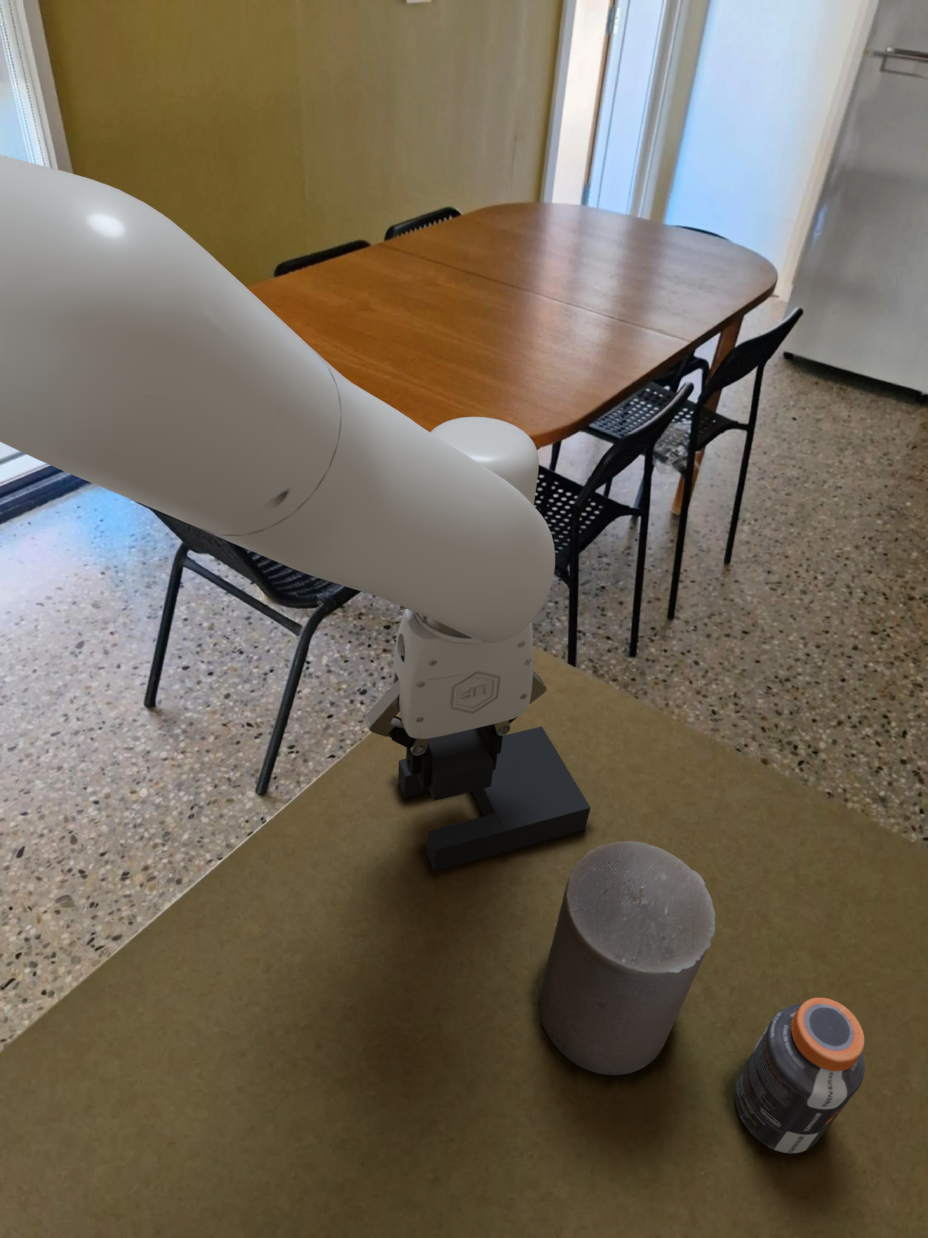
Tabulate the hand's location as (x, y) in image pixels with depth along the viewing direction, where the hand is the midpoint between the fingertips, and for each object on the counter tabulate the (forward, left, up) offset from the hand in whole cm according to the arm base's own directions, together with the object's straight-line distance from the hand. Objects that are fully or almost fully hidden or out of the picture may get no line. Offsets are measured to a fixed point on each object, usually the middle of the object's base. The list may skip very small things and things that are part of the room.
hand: (453, 764), depth 74 cm
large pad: (+4, 0, -7) cm, 8 cm away
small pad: (0, 0, -1) cm, 1 cm away
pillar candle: (+5, -20, -7) cm, 22 cm away
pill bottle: (+13, -30, -7) cm, 33 cm away
